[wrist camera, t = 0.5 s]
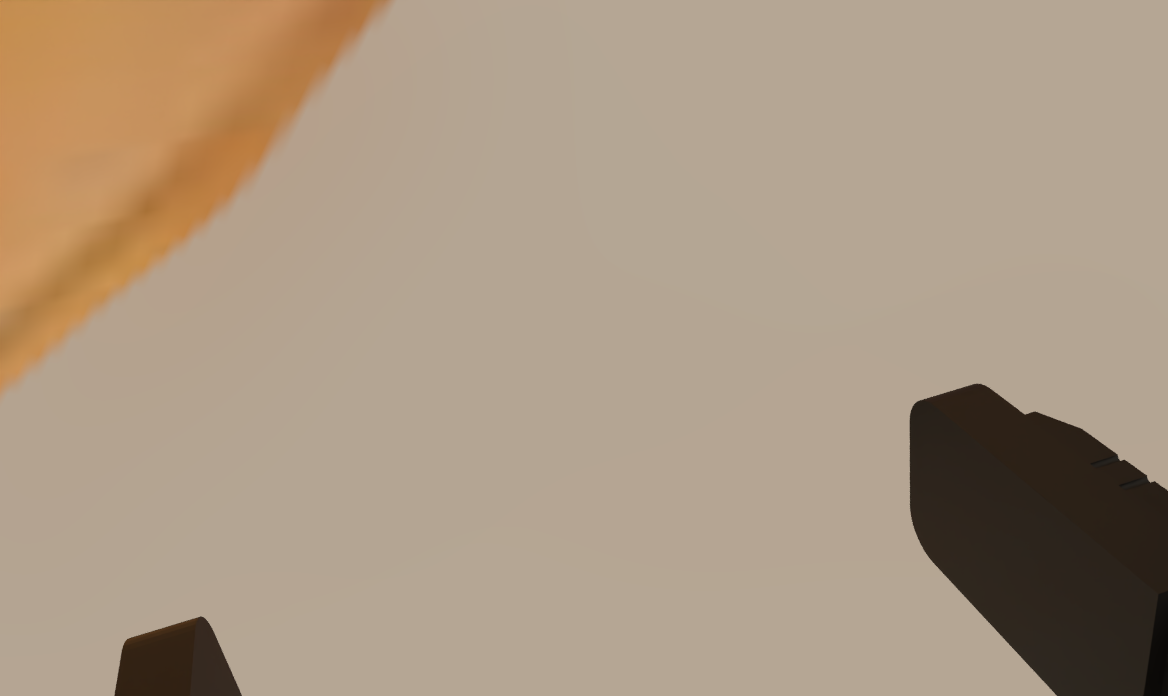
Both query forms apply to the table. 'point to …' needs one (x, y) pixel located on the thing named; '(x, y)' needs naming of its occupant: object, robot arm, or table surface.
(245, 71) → the table surface
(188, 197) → the table surface
